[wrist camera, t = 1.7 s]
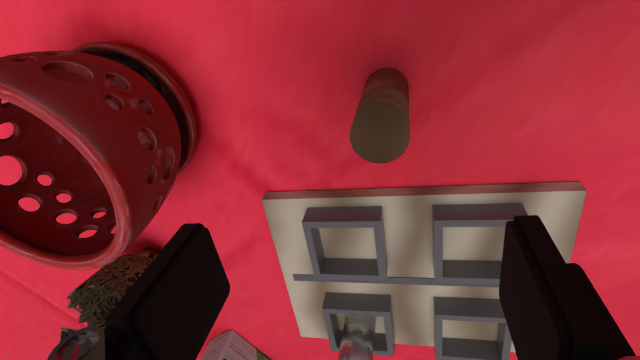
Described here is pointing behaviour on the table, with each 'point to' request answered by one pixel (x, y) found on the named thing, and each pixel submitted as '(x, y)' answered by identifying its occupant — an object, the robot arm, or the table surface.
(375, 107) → the walnut pin
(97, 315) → the cup
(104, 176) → the plant pot
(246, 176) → the table surface
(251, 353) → the ink box
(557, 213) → the board
